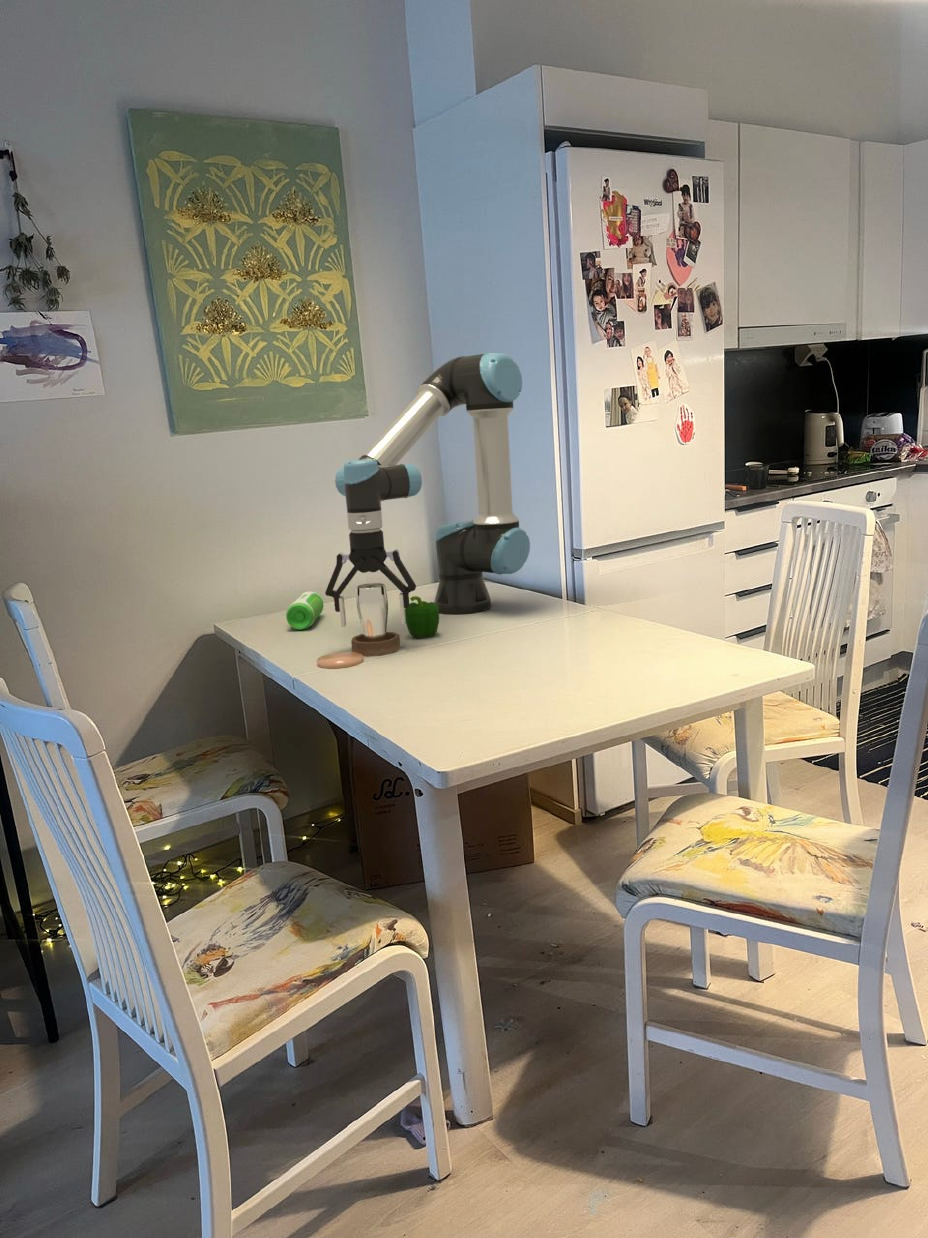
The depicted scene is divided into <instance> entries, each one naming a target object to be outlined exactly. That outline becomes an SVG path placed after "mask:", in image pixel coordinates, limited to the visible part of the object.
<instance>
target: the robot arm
mask: <svg viewBox="0 0 928 1238" xmlns="http://www.w3.org/2000/svg"><path fill="white" fill-rule="evenodd" d="M520 369H521V368H520V367H519V366H518V363H517V362H516V361H514V359H513V358H512V357H511V356H509V355H508V354H506V353H502V352H489V353H487V352H486V353H482V354H474V355H466V356H464V355H463V356H457V357H455V358H453V359H450V360H448V361H446V362H445V363H444V364H442V365H441V366H440V367H438V368H437V369H436V370H435V371H433V372H432V373H431V375H429V376H428V377H427V378H426V379H425V380H424V381H423V382H422V383H421V384H420V386H419V387H418V388H417V391H416V396H415V397H414V398H413V400H411V402H410V403H409V404H408V405H407V406H406V407H405V408H404V409H403V411H402V412H401V413H399V414H398V416H397V417H396V418H395V419H394V420H393V421H392V423H391V424H389V426H387V428H386V429H385V430H384V431H383V432H382V433H381V434H380V435H379V437H378V438H377V439H376V440H375V441H374V442H373V443H372V445H370V446H369V448H367V449H366V450H365V452H364V453H363V454H362V455H361V456H360V457H359V458H358V459H354V460H348V461H346V462H344V465H343V466H342V467H340V468H339V469H338V470H337V472H336V474H335V478H334V483H335V484H334V485H335V487H336V489H337V491H338V493H339V494H340V495H341V496H344V497H345V502H346V503H345V504H346V512H347V528H348V530H349V531H350V533H349V534H348V536H349V539H348V540H349V545H350V546H349V547H350V553H349V554H348V553H342V552H340V553H338V554H336V562H335V564H336V565H335V567H334V569H333V572H332V575H331V576H330V577H331V578H330V580H329V582H328V583H327V584H328V585H327V587H326V589H325V592H324V593H325V596H327V597H332V598H333V602H334V610H335V612H336V613H339V616H340V627H341V628H344V627H346V625H347V616H346V607H345V597H344V595H341V594H342V593H343V591H344V590H345V589H346V588H347V586H348V585H349V583H350V582H351V581H352V579H353V578H354V576H356V574H357V572H360V573H362V574H364V573H368V572H369V573H377V572H378V571H380V573H382V574H383V575H384V576H385V577H386V578H387V579H388V580H389V581H390V582H391V583H392V584H393V585H394V586H395V587H396V588H397V589H398V590H399V591H400V593H399V596H398V597H399V605H400V606H399V607H400V621H401V624H406V617H405V608H408V607H409V604H410V593H411V592H414V591H415V590H416V589H417V585H416V583H415V581H414V580H413V578H412V576H411V575H410V573H409V571H408V569H407V568H406V567H405V564H404V563H403V561H402V560H401V556H400V551H399V550H398V549H394V550H390V551H386V549H385V540H384V531H383V530H382V528H383V516H382V502H383V501H387V500H389V501H390V500H396V499H397V500H398V499H408V498H410V497H414V496H417V495H418V494H419V493H420V491H421V489H422V486H423V484H422V483H423V480H422V478H423V477H422V473H421V471H420V470H419V468H418V467H417V466H416V465H414V464H411V463H400V464H399V462H400V461H401V460H402V459H403V458H404V457H405V455H406V454H407V453H408V452H409V451H411V449H412V448H413V447H414V446H415V444H417V442H418V441H419V440H420V439H421V438H422V437H423V436H424V435H425V433H426V432H427V431H428V430H429V429H430V428H431V426H432V425H433V424H434V423H435V422H436V421H437V420H438V419H439V418H440V417H445V416H446V415H448V413H450V411H451V410H453V409H454V408H456V407H460V406H463V405H465V409H466V413H467V414H468V415H469V416H470V417H471V418H472V422H473V423H472V424H473V425H472V426H473V439H474V440H473V442H474V457H475V459H474V460H475V474H476V490H477V506H478V507H477V508H478V509H477V511H478V515H477V517H476V518H475V519H474V520H473V519H472V520H465V521H460V522H453V523H449V524H443V525H442V524H441V525H440V526H438V527H437V528H436V531H435V548H436V557H437V568H438V586H437V590H436V594H435V598H434V602H435V603H437V605H438V607H439V614H440V613H441V614H445V615H446V614H449V615H450V614H451V615H457V614H458V615H460V614H463V615H464V614H472V613H479V612H483V611H486V610H488V609H490V608H491V607H492V601H491V596H490V593H489V591H488V588H487V585H486V583H485V580H484V576H483V573H489V574H491V573H492V574H496V575H512V574H514V573H515V574H516V573H518V571H520V570H521V569H522V568H523V567H524V565H525V563H526V562H527V560H528V558H529V554H530V552H531V551H530V548H531V542H530V538H529V535H528V534H527V532H526V531H525V530H524V529H522V528H521V527H520V519H519V518H518V517H517V516H516V515H515V514H514V513H513V499H512V497H513V495H512V494H513V493H512V479H511V477H512V476H511V457H510V440H509V439H510V438H509V435H510V434H509V421H508V420H509V417H508V416H509V415H510V413H511V412H512V411H513V410H514V401H515V400H517V398H518V397H519V396H520V392H522V389H523V377H522V373H521V370H520ZM387 558H389V559H390V561H393V562H394V564H395V567H396V569H398V572H399V573H400V575H401V577H402V578H403V580H404V581H405V583H406V585H407V586H406V585H405V584H404V582H403V581H402V580H401V579H400V578H399V577H398V576H397V575H395V573H394V572H393V571H392V570H391V569H390V568H389V567H388V566H387V565H386V564H385V561H386V559H387ZM347 560H349V561H350V563H351V564H352V565H353V567H352V569H350V571H349V573H348V574H347V575H346V577H345V578H344V579H343V581H342V582H341V584H340V585H339V586H338V587H337V589H336V590H334V588H335V586H336V583H337V580H338V579H339V576H340V573H341V571H342V568H343V565H344V564H346V563H347Z"/></svg>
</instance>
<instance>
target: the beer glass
mask: <svg viewBox="0 0 928 1238" xmlns="http://www.w3.org/2000/svg"><path fill="white" fill-rule="evenodd" d="M355 591H356V592H355V594H356V597H355V598H356V609H357V614H358V619H359V622H360V626H361V629H362V634H363V636H364V642H380V641H385V640H388V639H387V632H388V631H387V630H388V629H387V628H388V617H389V616H388V615H389V603H388V602H389V601H388V593H387V587H386V583H383V582H369V583H362V584H361V583H360V584H358V585H356V590H355Z"/></svg>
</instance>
